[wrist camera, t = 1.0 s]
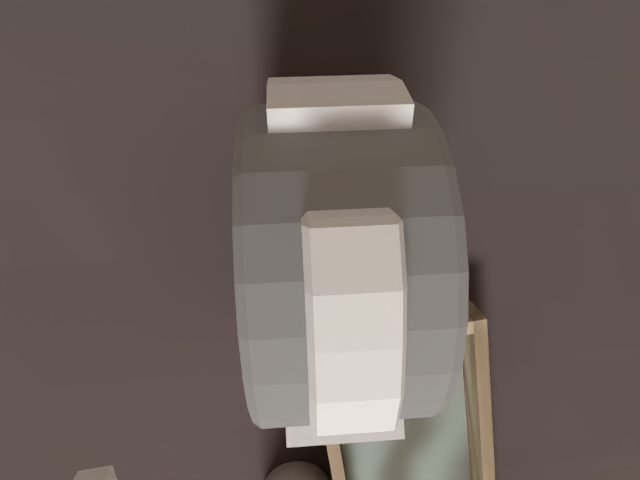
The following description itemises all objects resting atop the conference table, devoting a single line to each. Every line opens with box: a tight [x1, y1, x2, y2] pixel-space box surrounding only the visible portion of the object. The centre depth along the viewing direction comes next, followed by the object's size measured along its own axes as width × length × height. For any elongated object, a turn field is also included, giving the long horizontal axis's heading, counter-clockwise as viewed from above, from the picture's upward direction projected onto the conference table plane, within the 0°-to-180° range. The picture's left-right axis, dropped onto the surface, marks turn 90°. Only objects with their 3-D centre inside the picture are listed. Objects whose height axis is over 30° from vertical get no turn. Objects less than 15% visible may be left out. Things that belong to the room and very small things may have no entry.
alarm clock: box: [232, 74, 469, 448], centre depth 25 cm, size 18×8×20 cm, turn 2°
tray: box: [326, 299, 495, 480], centre depth 40 cm, size 13×24×4 cm, turn 9°
